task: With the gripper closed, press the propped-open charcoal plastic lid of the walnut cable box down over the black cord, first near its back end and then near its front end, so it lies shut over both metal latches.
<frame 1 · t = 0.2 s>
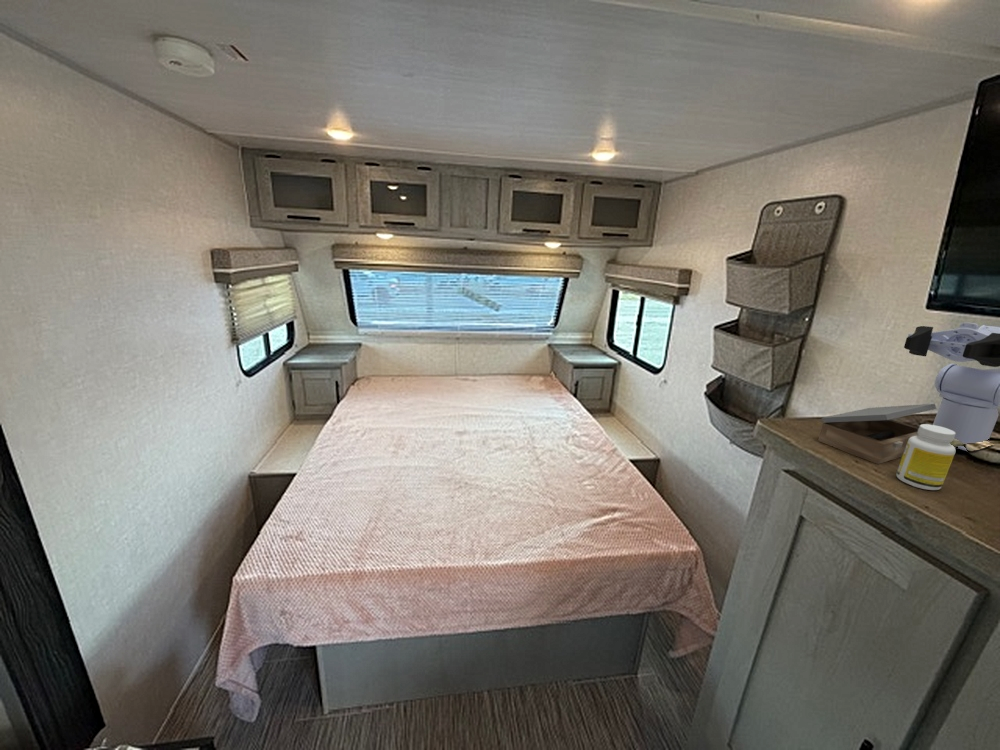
hand: (935, 346, 69), 21 cm above the table, tool horizontal, fingers open, 7 cm apart
cable box: (870, 445, 79), on the table
supplement bottle: (917, 483, 67), on the table
lid: (877, 413, 78), point 7 cm above the table, hinge at 25.0°
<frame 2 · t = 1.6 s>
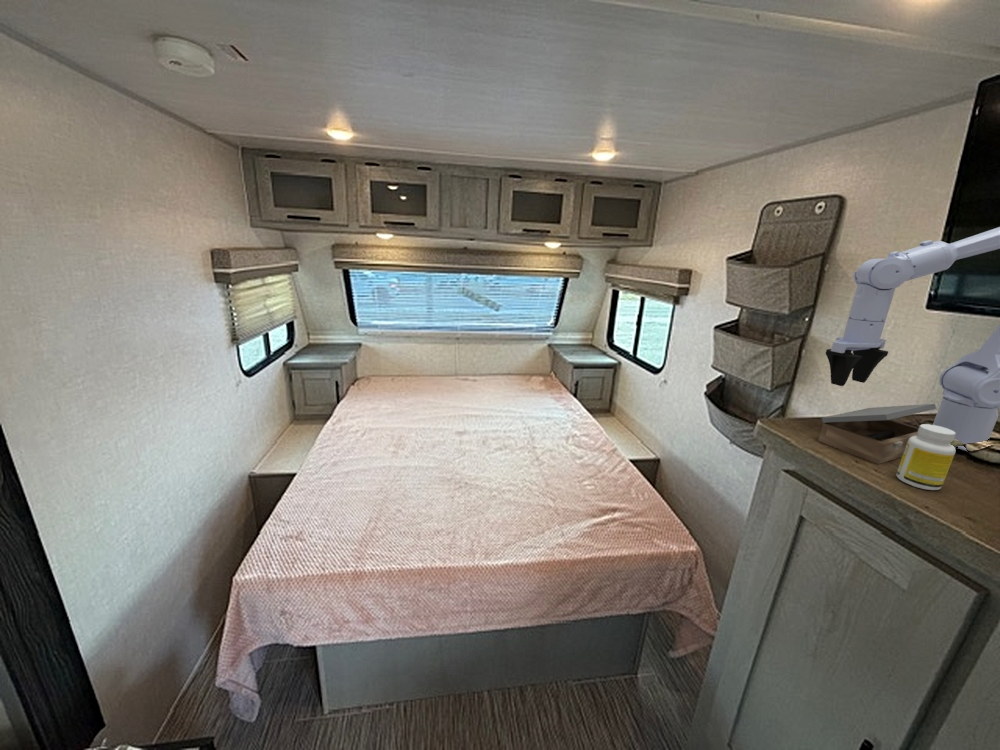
hand: (848, 383, 85), 10 cm above the table, tool pointing down, fingers open, 7 cm apart
nothing on the table moved.
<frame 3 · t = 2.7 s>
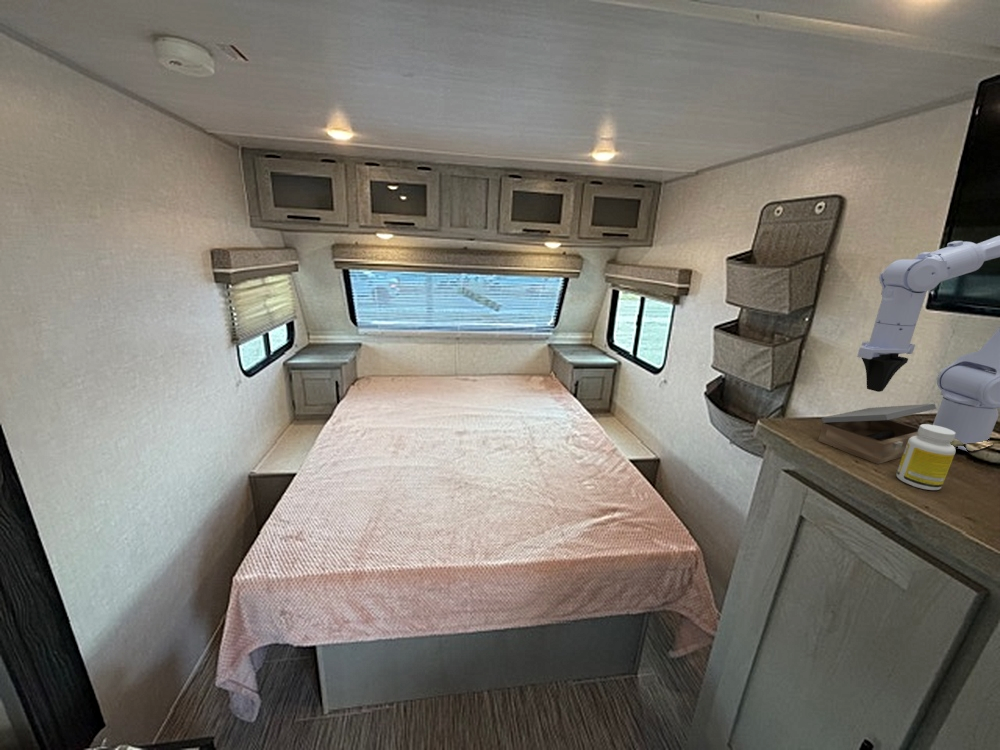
hand: (874, 390, 81), 10 cm above the table, tool pointing down, fingers closed
nothing on the table moved.
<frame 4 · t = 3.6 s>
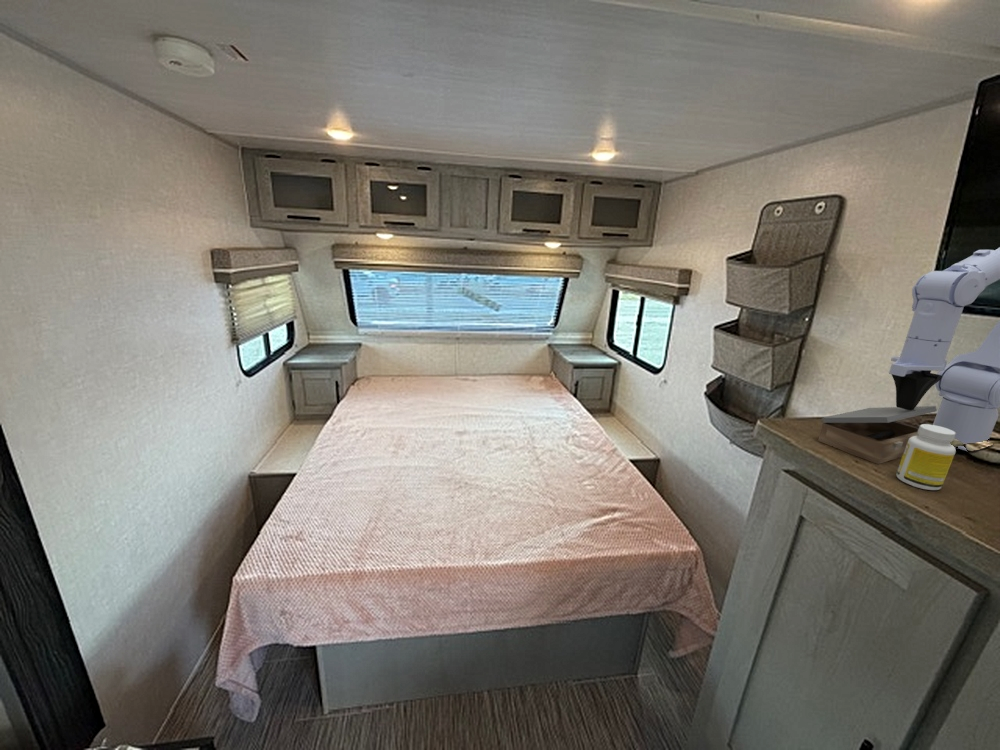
hand: (904, 408, 76), 8 cm above the table, tool pointing down, fingers closed, pressing on lid
lid: (877, 414, 78), point 7 cm above the table, hinge at 22.4°, touching gripper
everything else where it was.
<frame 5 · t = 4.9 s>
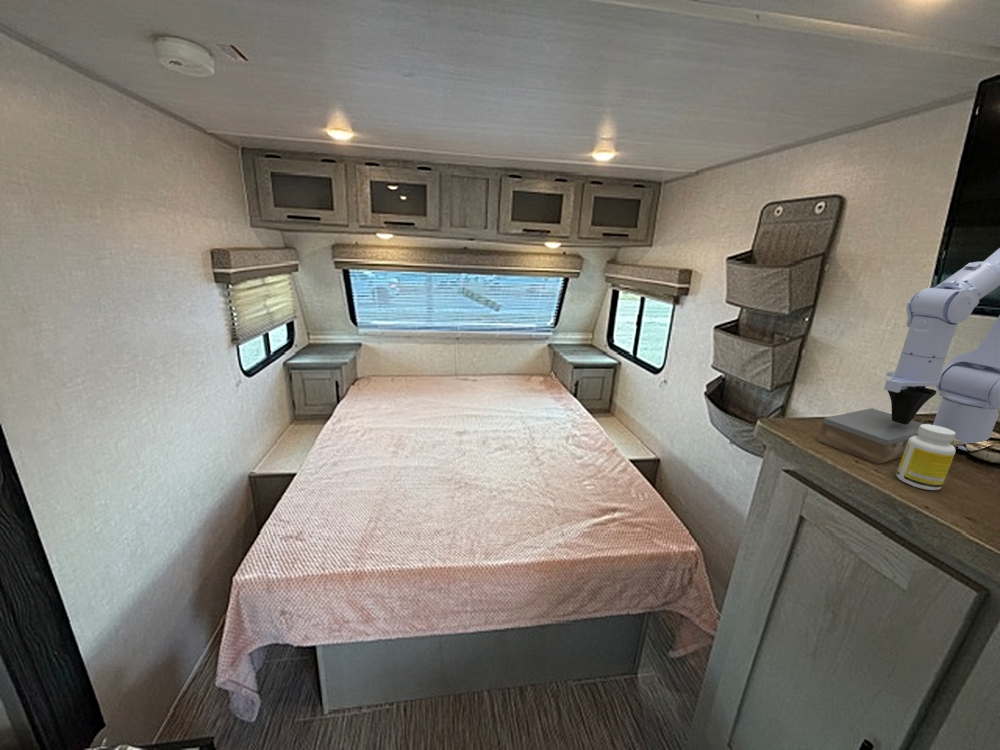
hand: (900, 422, 77), 5 cm above the table, tool pointing down, fingers closed
lid: (878, 425, 78), point 5 cm above the table, hinge at -0.6°, touching cable box
everything else where it was.
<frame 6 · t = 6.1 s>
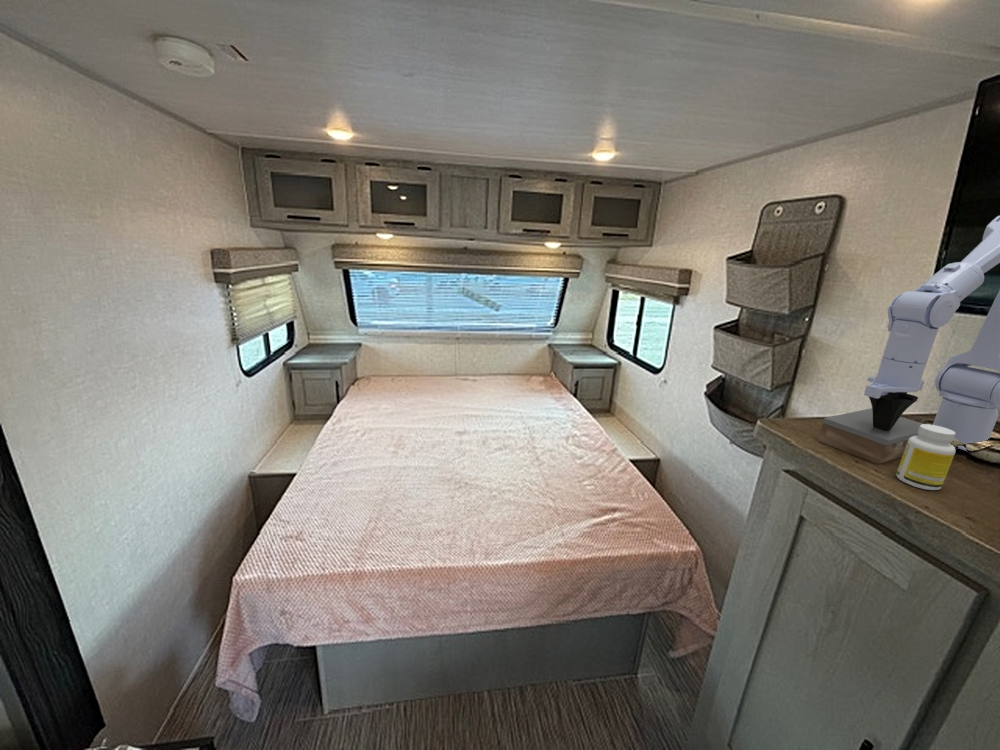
hand: (881, 428, 75), 5 cm above the table, tool pointing down, fingers closed, pressing on lid
lid: (878, 425, 78), point 5 cm above the table, hinge at -0.6°, touching cable box, gripper
everything else where it was.
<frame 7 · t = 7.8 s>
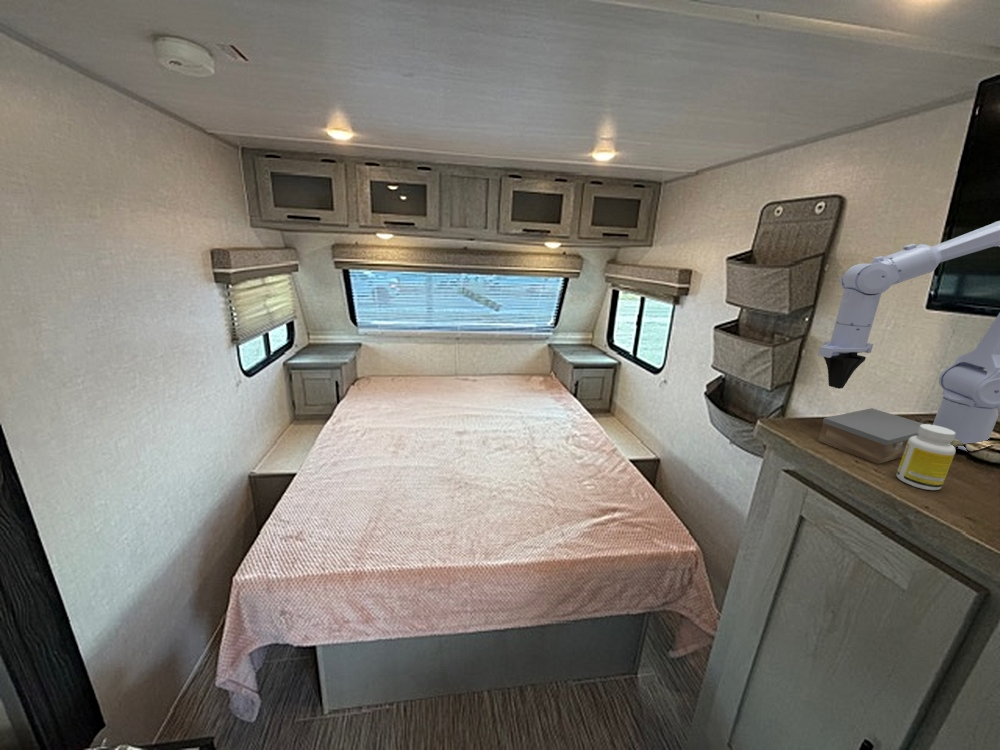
hand: (835, 387, 85), 9 cm above the table, tool pointing down, fingers closed
lid: (878, 425, 78), point 5 cm above the table, hinge at -0.6°, touching cable box
everything else where it was.
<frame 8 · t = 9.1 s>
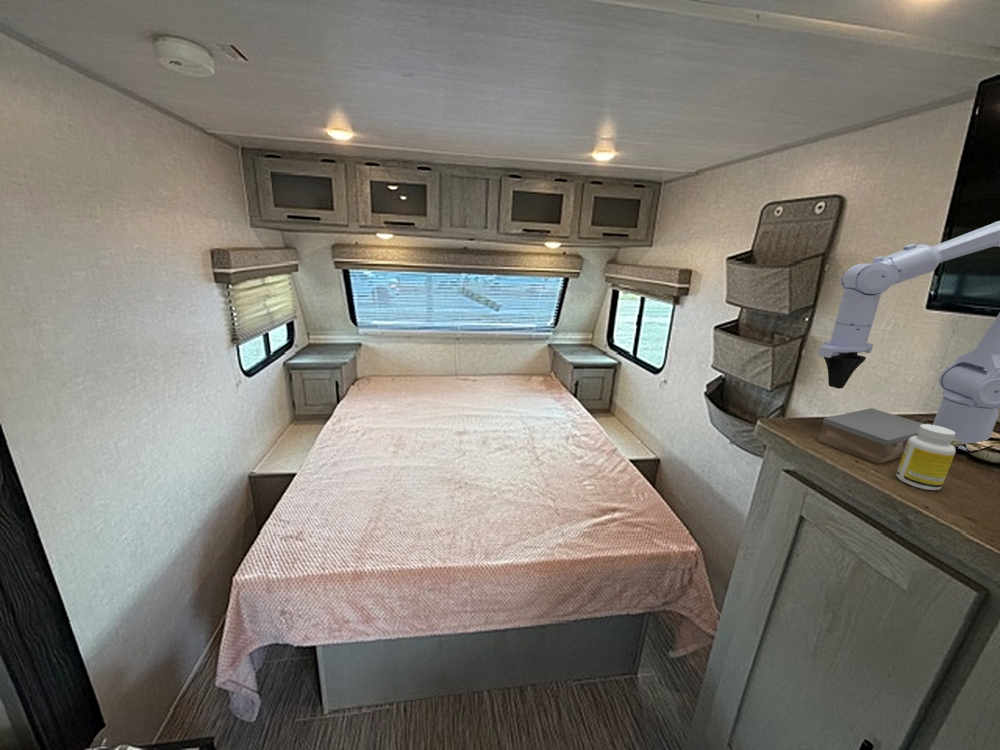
hand: (835, 387, 85), 9 cm above the table, tool pointing down, fingers closed
nothing on the table moved.
at the end: lid at -1° (first picture: +25°); supplement bottle moved 0.2 cm from its start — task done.
